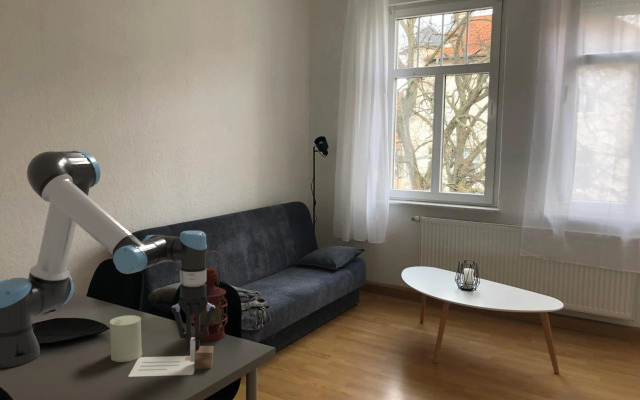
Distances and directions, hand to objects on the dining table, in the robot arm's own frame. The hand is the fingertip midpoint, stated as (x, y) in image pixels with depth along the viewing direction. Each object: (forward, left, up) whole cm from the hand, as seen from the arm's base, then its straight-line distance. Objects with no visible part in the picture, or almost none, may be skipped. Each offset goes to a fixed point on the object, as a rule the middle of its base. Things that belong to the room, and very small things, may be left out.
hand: (193, 359), depth 150 cm
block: (+3, 0, -2) cm, 4 cm away
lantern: (+3, +23, -2) cm, 23 cm away
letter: (-8, 0, -2) cm, 8 cm away
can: (-21, +8, -2) cm, 23 cm away
